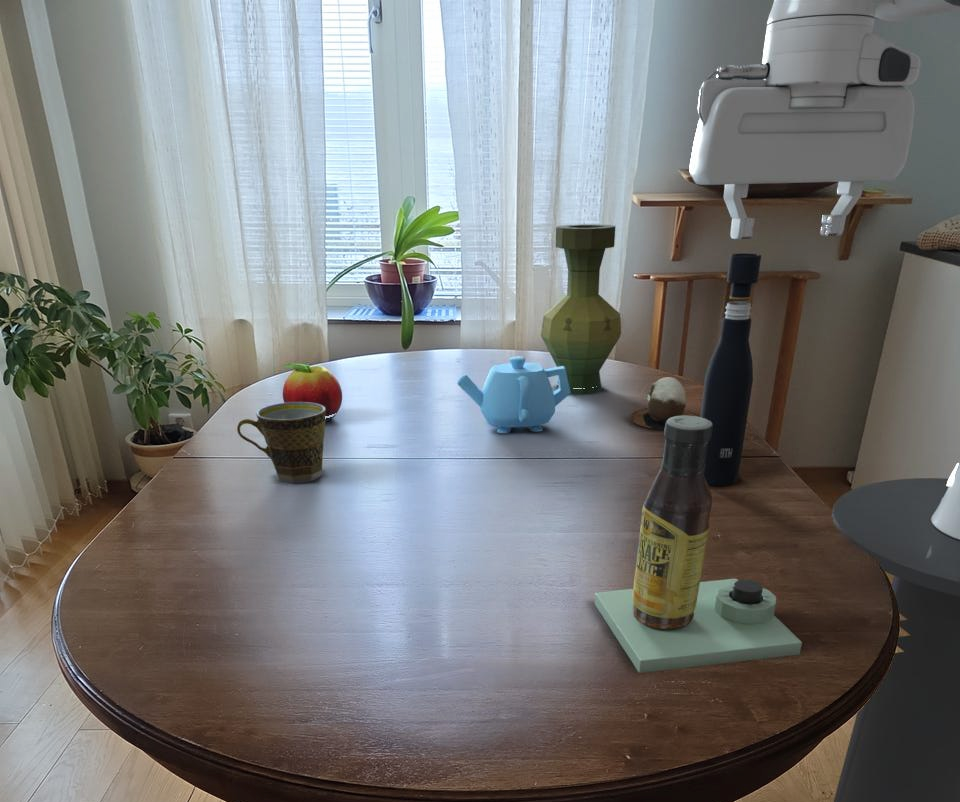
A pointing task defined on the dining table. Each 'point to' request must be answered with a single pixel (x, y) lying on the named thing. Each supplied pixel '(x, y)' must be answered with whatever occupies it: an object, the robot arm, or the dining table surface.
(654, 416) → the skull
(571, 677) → the dining table surface
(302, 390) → the fruit
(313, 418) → the ceramic cup
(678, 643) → the green panel with knob
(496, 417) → the teapot
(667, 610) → the sauce bottle
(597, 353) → the vase
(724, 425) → the navy water bottle
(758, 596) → the button
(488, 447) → the dining table surface
